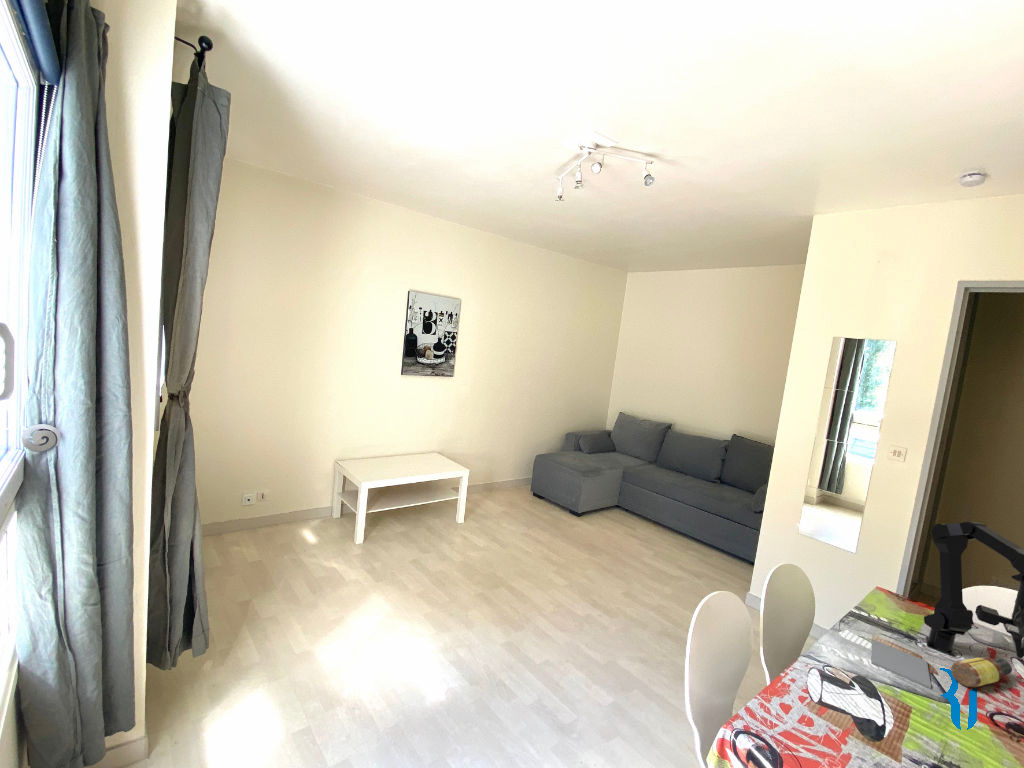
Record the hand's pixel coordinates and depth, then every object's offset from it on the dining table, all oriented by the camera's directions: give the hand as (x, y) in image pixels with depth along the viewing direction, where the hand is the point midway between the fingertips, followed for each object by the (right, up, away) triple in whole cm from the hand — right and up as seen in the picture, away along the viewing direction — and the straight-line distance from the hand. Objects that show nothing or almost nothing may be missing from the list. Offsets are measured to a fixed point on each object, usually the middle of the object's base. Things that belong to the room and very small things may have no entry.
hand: (1018, 657), depth 124 cm
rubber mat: (-23, -8, +11) cm, 27 cm away
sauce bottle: (-12, -7, +4) cm, 15 cm away
